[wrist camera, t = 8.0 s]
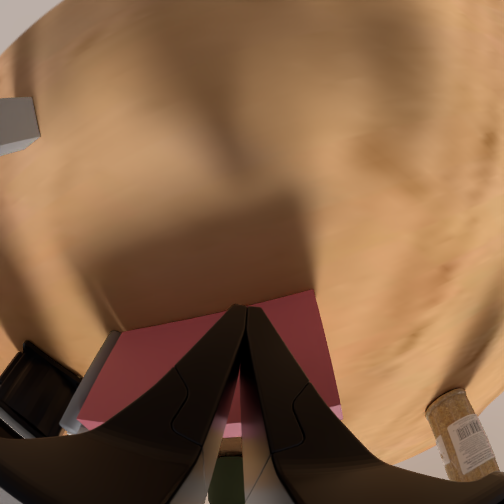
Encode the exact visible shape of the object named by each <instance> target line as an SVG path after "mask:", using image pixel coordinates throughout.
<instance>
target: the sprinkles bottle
mask: <svg viewBox="0 0 504 504" xmlns="http://www.w3.org/2000/svg"><path fill="white" fill-rule="evenodd" d="M425 417H426V419H427V420H428V421H429V423H430V426H431V428H432V431H433V434H434V436H435V439H436V444H437V447H438V450H439V452H440V455H441V458H442V461H443V464H444V467H445V470H446V473H447V475H448V478H449V479H450V481H456V482H470V481H476V480H478V479H481V478H483V477H484V476H486V475H488V474H490V473H492V472H494V471H500V470H499V467H498V465H497V462H496V460H495V455H494V452H493V450H492V447H491V445H490V443H489V440H488V438H487V436H486V433H485V431H484V429H483V427H482V425H481V422H480V420H479V418H478V416H477V415H476V414H475V412H474V410H473V408H472V406H471V404H470V402H469V400H468V398H467V396H466V391H465V390H464V389H461V388H458V389H454V390H451V391H449V392H447V393H445V394H443V395H442V396H440V397H439V398H438V399H437V400H436V401H434V402H433V403H432V404H431V405H430V406H429V407H428V409H427V411H426V414H425Z"/></svg>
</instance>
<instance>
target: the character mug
mask: <svg viewBox="0 0 504 504" xmlns="http://www.w3.org/2000/svg"><path fill="white" fill-rule="evenodd" d="M208 501H209V503H210V504H245V491H244V473H243V457H221V458H217V460H216V464H215V467H214V471H213V475H212V478H211V482H210V485H209V489H208Z"/></svg>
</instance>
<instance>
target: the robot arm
mask: <svg viewBox="0 0 504 504" xmlns="http://www.w3.org/2000/svg"><path fill="white" fill-rule="evenodd" d="M239 370H240V375H239ZM238 376H239V382H240V409H241V432H242V453H243V473H244V491H245V504H504V472H500V471H494V472H492V473H490V474H488V475H486V476H484V477H483V478H481V479H478V480H476V481H470V482H456V481H450V480H445V479H440V478H436V477H431V476H427V475H424V474H420V473H416V472H412V471H409V470H405V469H402V468H399V467H395V466H392V465H389V464H387V463H385V462H383V461H381V460H380V459H378V458H377V457H376V456H374V455H373V454H372V453H371V452H370V451H369V450H368V449H367V448H366V447H365V446H364V445H363V444H362V443H361V442H360V441H359V440H358V439H357V438H356V437H355V436H354V435H353V434H352V432H351V431H350V430H349V429H348V428H347V427H346V426H345V425H344V424H343V423H342V422H341V421H340V419H339V418H338V417H337V416H336V415H335V414H334V412H333V411H332V410H331V409H330V408H329V407H328V405H327V404H326V403H325V401H324V400H323V399H322V397H321V396H320V395H319V393H318V392H317V390H316V389H315V387H314V386H313V384H312V383H311V382H310V380H309V379H308V377H307V376H306V374H305V373H304V371H303V370H302V368H301V367H300V365H299V364H298V362H297V361H296V359H295V358H294V356H293V355H292V353H291V352H290V350H289V349H288V347H287V346H286V344H285V343H284V341H283V340H282V338H281V337H280V335H279V334H278V332H277V331H276V329H275V328H274V326H273V325H272V323H271V321H270V320H269V318H268V317H267V315H266V314H265V312H264V311H263V309H262V308H261V307H255V306H248V307H247V306H245V305H238V304H233V305H232V306H231V307H230V308H229V309H228V310H227V311H226V312H225V314H224V315H223V316H222V317H221V318H220V319H219V320H218V321H217V322H216V323H215V324H214V325H213V326H212V327H211V328H210V329H209V330H208V331H207V332H206V333H205V334H204V335H203V336H202V337H201V339H200V340H199V341H198V342H197V343H196V344H195V345H194V346H193V347H192V348H191V349H190V350H189V351H188V352H187V353H186V354H185V355H184V356H183V357H182V358H181V359H180V360H179V361H178V362H177V363H176V364H175V365H174V367H172V368H171V369H170V370H169V371H168V372H167V373H166V374H165V375H164V376H163V377H162V378H161V379H160V380H159V381H158V382H157V383H156V384H155V385H153V386H152V387H151V388H150V389H149V390H147V391H146V392H145V393H144V394H142V395H141V396H140V397H139V398H137V399H136V400H135V401H133V402H132V403H131V404H129V405H128V406H126V407H125V408H124V409H122V410H121V411H120V412H118V413H117V414H115V415H114V416H113V417H111V418H110V419H108V420H107V421H106V422H104V423H103V424H101V425H100V426H98V427H96V428H94V429H92V430H89V431H87V432H83V433H80V434H73V435H65V436H62V435H63V433H64V431H65V429H64V428H62V427H61V426H60V424H59V423H60V421H61V419H62V417H63V415H64V413H65V411H66V409H67V407H68V405H69V403H70V401H71V399H72V397H73V396H74V394H75V392H76V390H77V388H78V386H79V385H80V383H81V381H82V380H81V379H80V378H78V377H77V376H75V375H74V374H72V373H71V372H69V371H68V370H66V369H65V368H63V367H62V366H60V365H59V364H58V363H56V362H55V361H53V360H52V359H51V358H49V357H48V356H47V355H45V354H44V353H43V352H41V351H40V350H39V349H38V348H36V347H35V346H34V345H32V344H31V343H30V342H29V341H27V340H26V341H25V342H24V343H23V353H22V352H18V353H17V354H16V356H15V357H14V358H13V359H12V361H11V362H10V363H9V365H8V366H7V368H6V369H5V370H4V372H3V373H2V374H1V376H0V417H1V418H2V419H3V420H4V421H5V422H6V423H5V422H4V421H3V420H2V419H1V418H0V504H204V503H205V498H206V496H207V492H208V489H209V485H210V482H211V478H212V475H213V471H214V467H215V464H216V460H217V456H218V453H219V449H220V445H221V442H222V438H223V434H224V431H225V427H226V423H227V419H228V415H229V412H230V408H231V404H232V400H233V396H234V393H235V389H236V385H237V381H238ZM7 423H8V424H9V425H10V426H11V427H12V428H13V429H14V430H13V429H12V428H11V427H10V426H9V425H8V424H7ZM15 430H16V431H17V432H18V433H19V434H20V435H19V434H18V433H17V432H16V431H15ZM21 435H22V436H23V437H24V438H25V439H24V438H23V437H22V436H21Z"/></svg>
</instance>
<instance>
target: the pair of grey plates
mask: <svg viewBox="0 0 504 504" xmlns="http://www.w3.org/2000/svg"><path fill="white" fill-rule="evenodd" d="M39 137H40V133H39V129H38V124H37V120H36V115H35V110H34V105H33V100H32V97H15V98H1V99H0V156H2V155H6V154H9V153H13V152H17V151H20V150H24V149H25V148H26V147H28V146H29V145H30V144H31V143H33V142H34V141H35V140H37V139H38V138H39ZM120 335H121V334H120V333H119V332H117V331H111V332H110V334H109V335H108V337H107V338H106V340H105V342H104V343H103V345H102V347H101V348H100V350H99V352H98V353H97V355H96V357H95V358H94V360H93V362H92V363H91V365H90V367H89V369H88V370H87V372H86V374H85V376H84V377H83V379H82V381H81V383H80V385H79V386H78V388H77V390H76V392H75V394H74V396H73V397H72V399H71V401H70V403H69V405H68V407H67V409H66V411H65V413H64V415H63V417H62V419H61V421H60V423H59V424H60V426H61V427H62V428H64V429H65V430H66V431H68V432H67V434H68V435H73V434H80V433H83V432H87V431H89V430H88V429H87V428H86V427H85V426H84V425H83V424H82V423H80V422H79V421H78V420H77V419H76V418H77V416H78V414H79V412H80V410H81V408H82V406H83V404H84V402H85V400H86V398H87V396H88V394H89V392H90V390H91V388H92V386H93V384H94V382H95V381H96V379H97V377H98V375H99V373H100V371H101V369H102V367H103V366H104V364H105V362H106V360H107V358H108V357H109V355H110V353H111V351H112V349H113V348H114V346H115V344H116V342H117V341H118V339H119V337H120Z"/></svg>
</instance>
